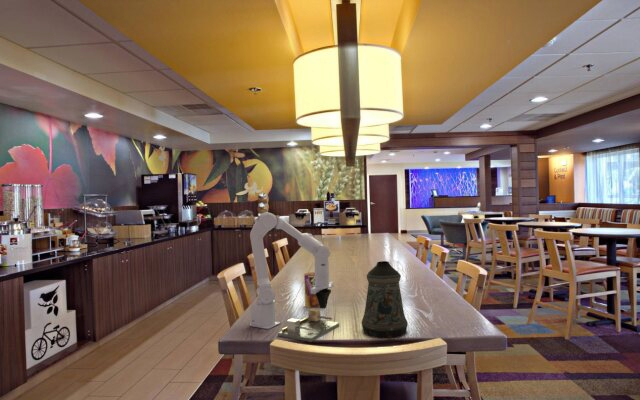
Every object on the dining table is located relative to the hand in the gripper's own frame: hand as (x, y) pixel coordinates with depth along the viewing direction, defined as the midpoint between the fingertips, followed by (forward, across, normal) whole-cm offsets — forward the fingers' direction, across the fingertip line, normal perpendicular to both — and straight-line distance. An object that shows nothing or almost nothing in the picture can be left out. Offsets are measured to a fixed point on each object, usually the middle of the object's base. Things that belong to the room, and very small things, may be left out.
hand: (323, 307), depth 172 cm
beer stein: (+5, -2, -27) cm, 27 cm away
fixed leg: (+3, -21, -3) cm, 21 cm away
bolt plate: (+5, -15, -3) cm, 16 cm away
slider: (+3, -7, -3) cm, 8 cm away
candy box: (+5, +15, +14) cm, 21 cm away
